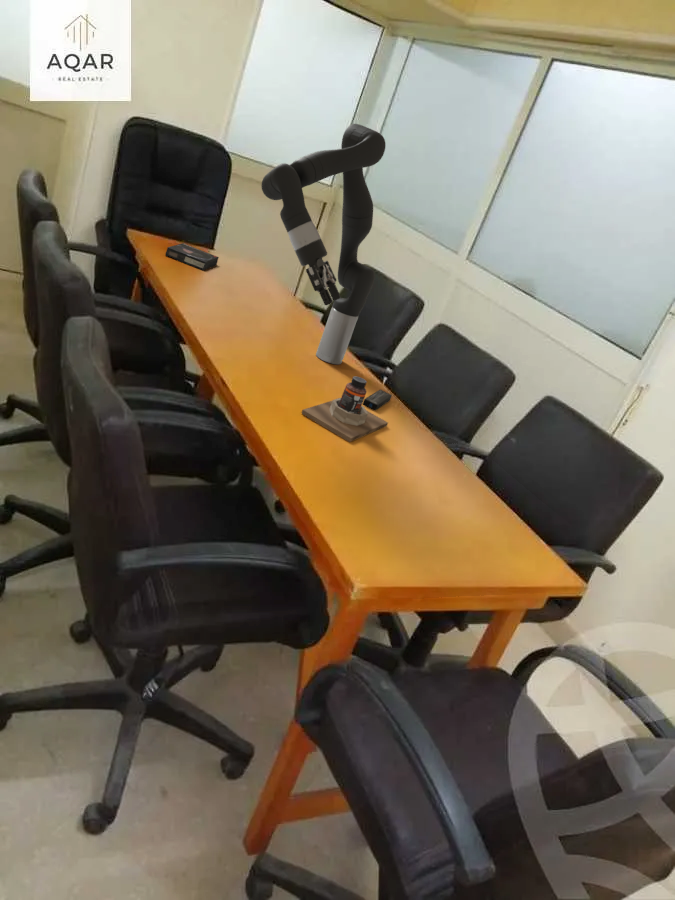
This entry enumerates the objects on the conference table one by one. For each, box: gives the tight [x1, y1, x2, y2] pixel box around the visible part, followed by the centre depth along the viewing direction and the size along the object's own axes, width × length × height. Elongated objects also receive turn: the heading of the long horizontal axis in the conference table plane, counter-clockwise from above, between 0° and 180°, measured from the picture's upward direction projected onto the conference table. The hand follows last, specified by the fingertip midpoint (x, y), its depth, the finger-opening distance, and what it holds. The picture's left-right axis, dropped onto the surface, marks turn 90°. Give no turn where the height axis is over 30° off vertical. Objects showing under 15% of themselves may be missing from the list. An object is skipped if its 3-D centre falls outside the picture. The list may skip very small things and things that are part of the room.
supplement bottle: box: [338, 376, 368, 414], centre depth 187 cm, size 6×6×11 cm
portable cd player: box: [164, 242, 219, 271], centre depth 284 cm, size 16×17×4 cm
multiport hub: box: [362, 389, 393, 412], centre depth 210 cm, size 4×14×2 cm, turn 157°
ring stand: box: [301, 397, 389, 443], centre depth 189 cm, size 22×16×4 cm
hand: (333, 301), depth 181 cm, fingers open, 8 cm apart
